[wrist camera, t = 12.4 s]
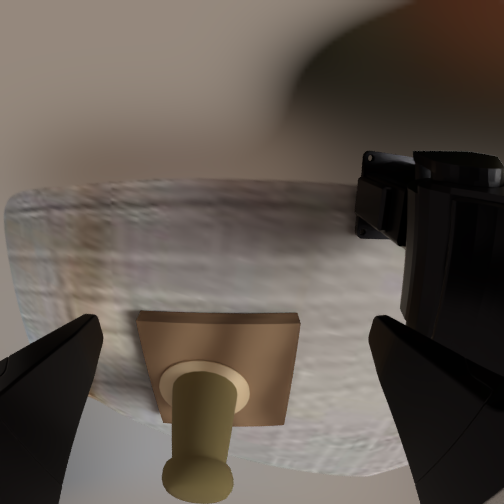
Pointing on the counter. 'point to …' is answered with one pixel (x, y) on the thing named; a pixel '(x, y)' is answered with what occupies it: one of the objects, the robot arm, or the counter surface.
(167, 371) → the plate
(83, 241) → the counter surface
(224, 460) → the pepper shaker
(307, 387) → the counter surface
